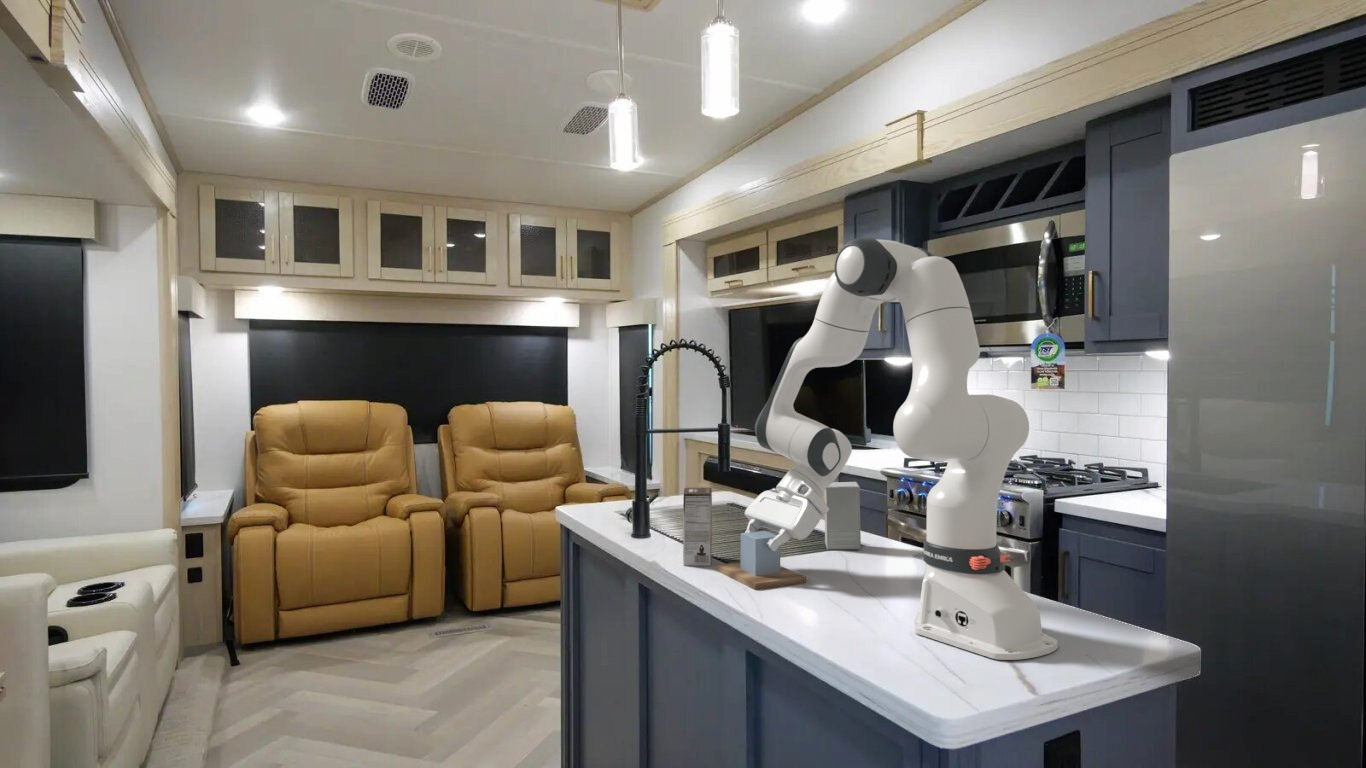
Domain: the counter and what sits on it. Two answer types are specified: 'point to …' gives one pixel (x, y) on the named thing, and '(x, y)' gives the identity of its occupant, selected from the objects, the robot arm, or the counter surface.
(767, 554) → the pale blue cube
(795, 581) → the post base
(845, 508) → the skincare box
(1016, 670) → the counter surface
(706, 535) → the coffee box
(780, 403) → the robot arm
